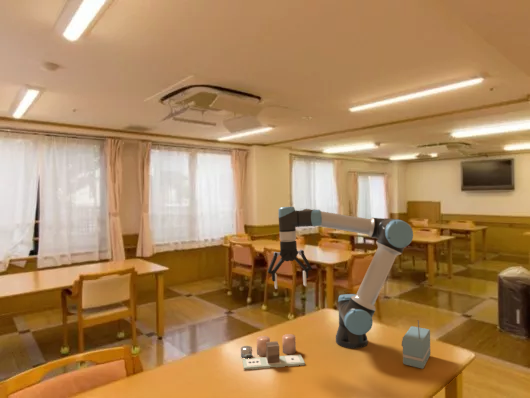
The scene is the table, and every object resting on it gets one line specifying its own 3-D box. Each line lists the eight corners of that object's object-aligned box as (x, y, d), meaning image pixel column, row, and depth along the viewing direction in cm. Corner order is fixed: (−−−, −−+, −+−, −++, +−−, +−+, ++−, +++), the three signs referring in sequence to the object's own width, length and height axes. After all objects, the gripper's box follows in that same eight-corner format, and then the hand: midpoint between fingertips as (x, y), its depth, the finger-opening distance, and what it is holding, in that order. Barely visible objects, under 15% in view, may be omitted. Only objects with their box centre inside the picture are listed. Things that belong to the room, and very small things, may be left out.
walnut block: (279, 362, 147) (279, 345, 147) (268, 363, 147) (267, 346, 147) (277, 357, 152) (277, 341, 152) (266, 357, 152) (266, 342, 152)
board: (300, 356, 155) (300, 353, 155) (304, 365, 147) (304, 362, 147) (242, 361, 152) (242, 358, 152) (243, 370, 144) (243, 367, 144)
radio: (409, 351, 158) (408, 307, 158) (430, 356, 153) (429, 311, 153) (400, 365, 145) (399, 317, 145) (423, 371, 140) (422, 321, 140)
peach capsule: (294, 348, 164) (293, 333, 164) (296, 354, 158) (296, 338, 158) (281, 349, 163) (281, 334, 163) (284, 355, 157) (283, 339, 157)
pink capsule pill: (269, 350, 162) (268, 335, 162) (270, 356, 156) (270, 340, 156) (256, 351, 162) (256, 336, 162) (257, 357, 156) (257, 341, 156)
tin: (251, 354, 159) (251, 345, 159) (252, 359, 154) (252, 350, 154) (240, 355, 158) (240, 346, 158) (241, 360, 153) (241, 351, 153)
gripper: (311, 237, 164) (314, 282, 164) (259, 241, 160) (262, 287, 160) (316, 239, 156) (319, 286, 156) (262, 243, 152) (265, 291, 152)
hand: (290, 286), depth 158 cm, fingers open, 13 cm apart
